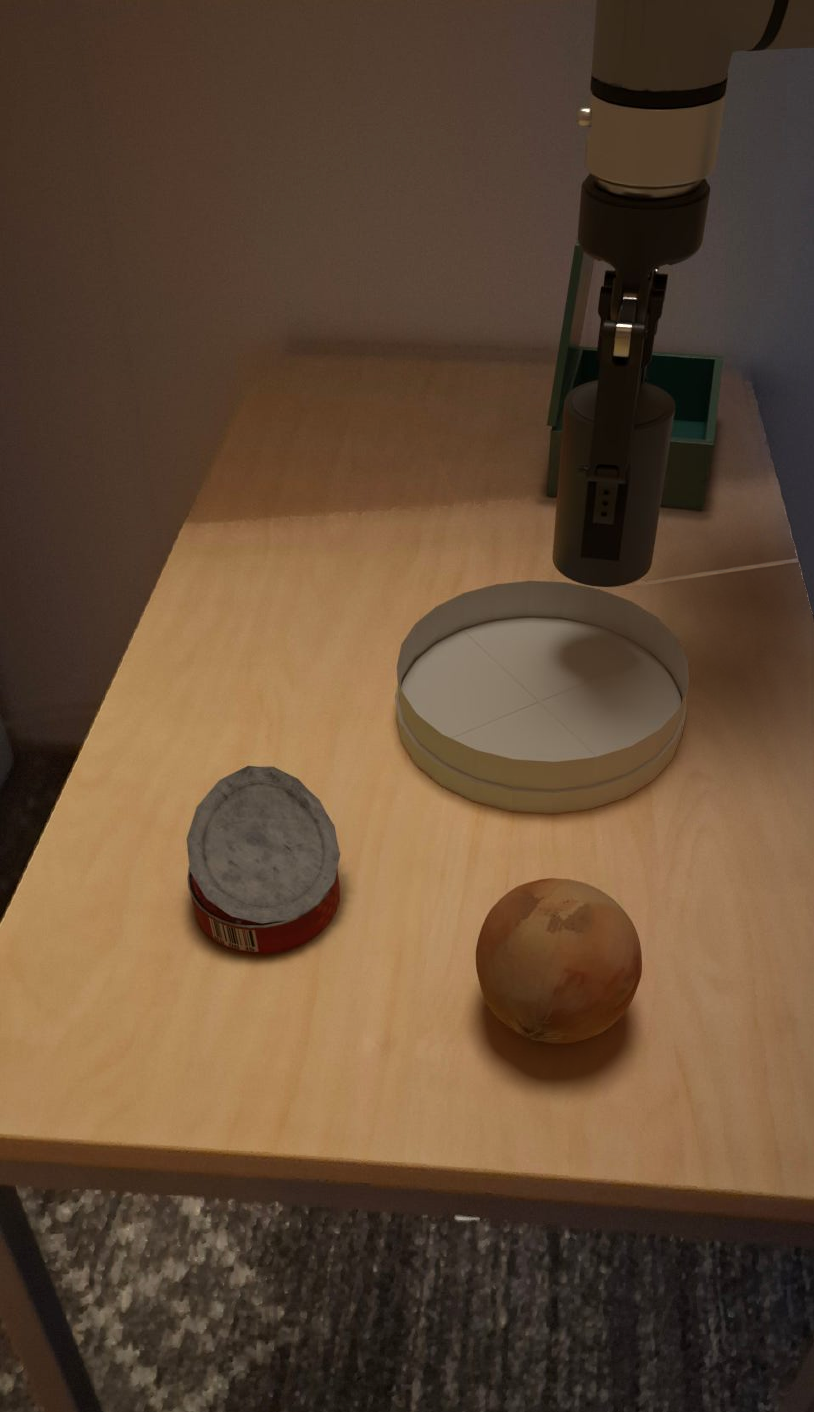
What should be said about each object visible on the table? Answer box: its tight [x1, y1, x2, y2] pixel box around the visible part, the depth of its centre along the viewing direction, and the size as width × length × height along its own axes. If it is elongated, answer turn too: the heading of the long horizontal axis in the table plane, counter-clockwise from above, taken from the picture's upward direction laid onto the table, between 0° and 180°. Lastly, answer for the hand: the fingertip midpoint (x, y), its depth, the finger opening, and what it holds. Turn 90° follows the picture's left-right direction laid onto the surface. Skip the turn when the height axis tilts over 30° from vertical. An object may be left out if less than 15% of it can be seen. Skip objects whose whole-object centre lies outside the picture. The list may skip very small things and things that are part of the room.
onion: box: [475, 877, 643, 1044], centre depth 68 cm, size 10×10×10 cm
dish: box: [394, 580, 690, 815], centre depth 89 cm, size 22×22×5 cm
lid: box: [546, 237, 596, 427], centre depth 106 cm, size 15×18×1 cm
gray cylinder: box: [551, 380, 675, 588], centre depth 83 cm, size 7×7×12 cm
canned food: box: [186, 765, 341, 955], centre depth 76 cm, size 11×10×10 cm
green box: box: [545, 345, 724, 512], centre depth 113 cm, size 15×18×7 cm
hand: (606, 525), depth 85 cm, fingers closed on gray cylinder, 7 cm apart
